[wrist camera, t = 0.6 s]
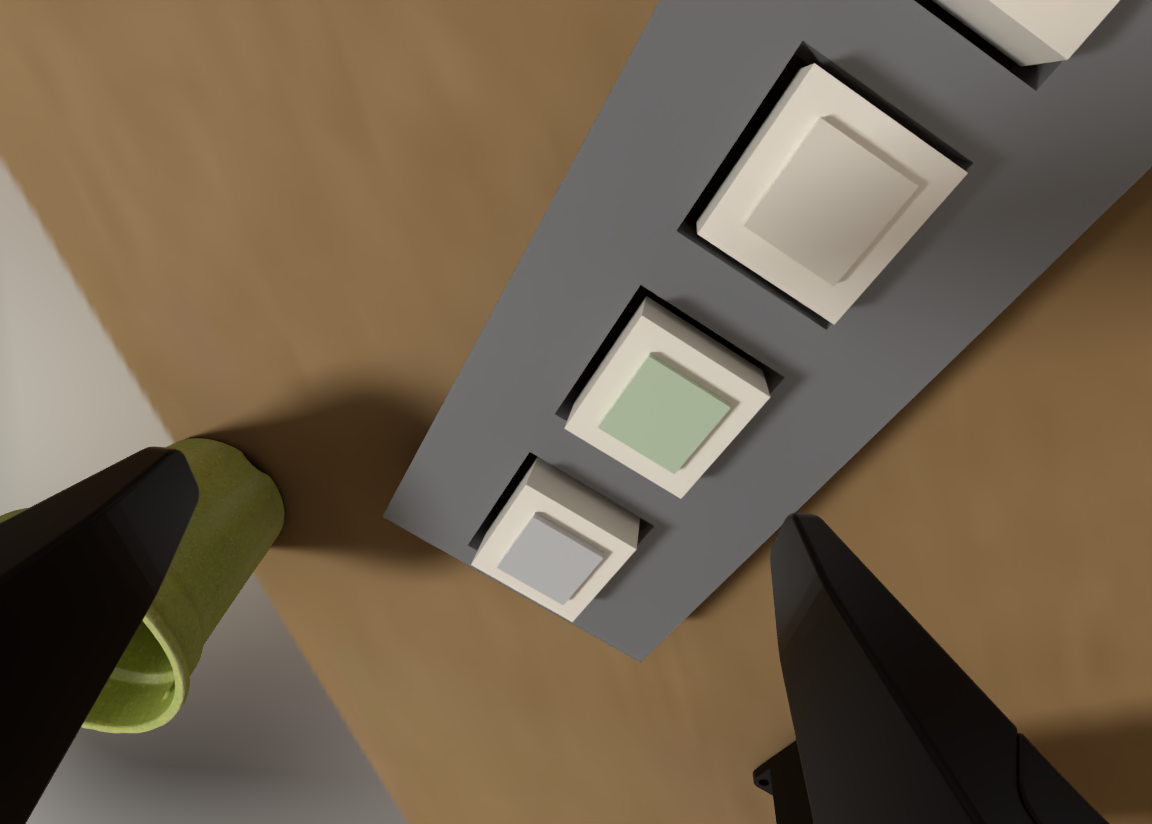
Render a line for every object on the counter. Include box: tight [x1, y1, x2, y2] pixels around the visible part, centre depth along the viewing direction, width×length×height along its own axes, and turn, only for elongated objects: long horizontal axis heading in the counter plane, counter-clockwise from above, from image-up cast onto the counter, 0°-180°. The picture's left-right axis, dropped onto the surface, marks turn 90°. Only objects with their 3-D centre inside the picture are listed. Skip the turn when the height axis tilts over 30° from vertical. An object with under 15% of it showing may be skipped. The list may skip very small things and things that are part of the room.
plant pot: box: [0, 438, 285, 733], centre depth 23 cm, size 9×9×9 cm
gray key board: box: [382, 0, 1152, 662], centre depth 18 cm, size 12×28×2 cm, turn 149°
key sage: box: [564, 296, 770, 499], centre depth 18 cm, size 4×4×2 cm
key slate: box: [471, 456, 640, 622], centre depth 22 cm, size 4×4×2 cm
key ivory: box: [696, 63, 968, 325], centre depth 15 cm, size 4×4×2 cm
